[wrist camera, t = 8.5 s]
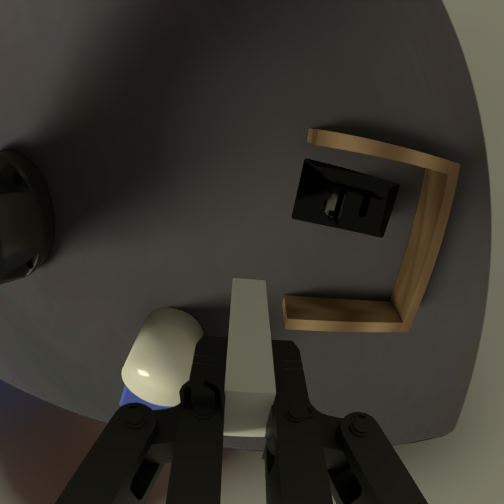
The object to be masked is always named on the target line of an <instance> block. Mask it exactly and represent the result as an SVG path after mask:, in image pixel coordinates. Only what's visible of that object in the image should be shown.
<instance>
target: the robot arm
mask: <svg viewBox="0 0 504 504" xmlns="http://www.w3.org/2000/svg"><path fill="white" fill-rule="evenodd" d="M53 238H54V215H53V209H52V204H51V200H50V196H49V193H48V190H47V188H46V185H45V183H44V181H43V179H42V177H41V175H40V173H39V172H38V170H37V169H36V168H35V166H34V165H33V164H32V163H31V162H30V161H29V160H28V159H27V158H26V157H24V156H23V155H21V154H20V153H17V152H14V151H1V152H0V285H1V284H4V283H7V282H11V281H14V280H17V279H21V278H24V277H26V276H28V275H30V274H31V273H33V272H34V271H35V270H36V269H37V268H38V267H40V266H41V265H42V264H43V263H44V262H45V260H46V259H47V257H48V255H49V253H50V251H51V248H52V244H53ZM179 395H180V403H179V404H178V405H176V406H174V407H171V408H167V409H160V410H152V409H151V408H150V407H148V406H147V405H145V404H142V403H137V402H135V403H128V404H125V405H123V406H121V407H120V408H119V409H118V410H117V411H116V413H115V414H114V415H113V417H112V418H111V420H110V421H109V423H108V424H107V426H106V427H105V429H104V430H103V432H102V433H101V435H100V436H99V438H98V439H97V441H96V442H95V443H94V445H93V447H92V448H91V449H90V451H89V452H88V454H87V456H86V457H85V458H84V460H83V461H82V463H81V464H80V466H79V467H78V469H77V471H76V472H75V474H74V475H73V477H72V478H71V480H70V481H69V483H68V484H67V486H66V487H65V489H64V490H63V492H62V493H61V495H60V496H59V498H58V500H57V501H56V503H55V504H145V502H146V500H147V498H148V496H149V494H150V492H151V490H152V488H153V486H154V484H155V482H156V480H157V478H158V476H159V474H160V472H161V470H162V468H163V466H164V464H165V463H169V462H172V465H171V471H170V478H169V485H168V491H167V499H166V504H220V494H221V471H222V451H223V435H228V436H247V437H264V436H265V433H266V445H265V448H264V451H263V455H262V459H265V479H266V502H267V504H333V500H332V495H333V498H334V500H335V502H336V504H428V503H427V501H426V499H425V498H424V496H423V495H422V493H421V492H420V490H419V488H418V487H417V485H416V484H415V482H414V480H413V478H412V477H411V475H410V474H409V472H408V470H407V469H406V467H405V466H404V464H403V462H402V461H401V459H400V458H399V456H398V455H397V453H396V451H395V450H394V448H393V447H392V445H391V443H390V442H389V440H388V439H387V437H386V435H385V434H384V432H383V431H382V429H381V428H380V426H379V424H378V423H377V421H376V420H375V419H374V418H373V417H372V416H370V415H368V414H366V413H362V412H354V413H350V414H348V415H346V416H345V417H344V418H343V419H342V418H337V417H333V416H328V415H325V414H322V413H321V412H319V411H317V410H316V409H315V408H314V407H313V406H312V404H311V403H310V401H309V398H308V392H307V387H306V382H305V377H304V371H303V366H302V362H301V356H300V351H299V349H298V347H297V346H296V345H295V343H294V342H293V341H286V340H271V334H270V324H269V313H268V303H267V293H266V283H265V281H263V280H250V279H238V278H233V284H232V296H231V308H230V321H229V334H228V338H224V337H212V336H202V337H201V339H200V340H199V341H198V342H197V343H196V346H195V351H194V356H193V362H192V367H191V372H190V378H189V381H187V382H186V383H185V384H183V385H182V387H181V389H180V391H179ZM331 493H332V494H331Z"/></svg>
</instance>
